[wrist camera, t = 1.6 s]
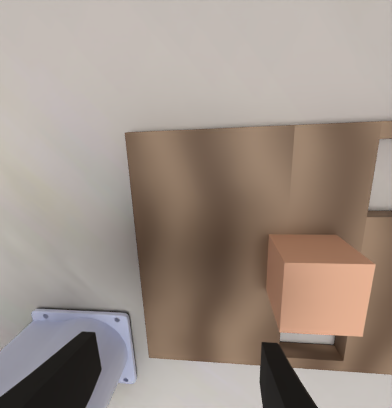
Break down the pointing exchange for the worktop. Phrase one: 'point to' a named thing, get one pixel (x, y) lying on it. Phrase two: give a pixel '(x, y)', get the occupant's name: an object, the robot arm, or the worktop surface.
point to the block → (318, 284)
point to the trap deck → (253, 236)
